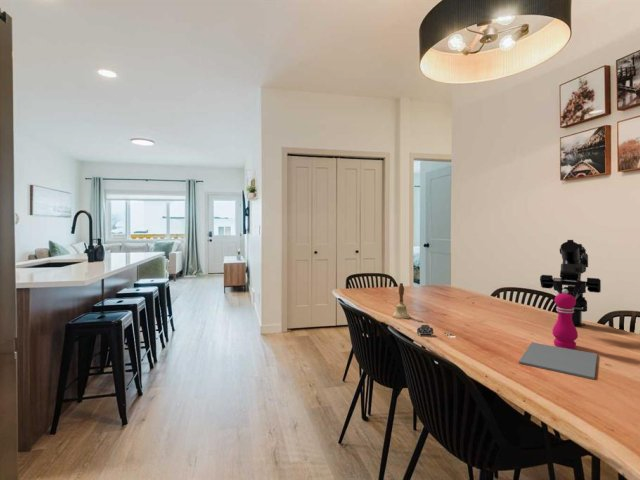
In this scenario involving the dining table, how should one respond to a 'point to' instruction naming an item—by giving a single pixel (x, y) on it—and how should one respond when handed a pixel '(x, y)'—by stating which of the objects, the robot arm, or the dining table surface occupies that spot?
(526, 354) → the mat
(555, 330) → the pepper mill
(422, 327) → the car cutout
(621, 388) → the dining table surface
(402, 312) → the hand bell
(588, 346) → the dining table surface
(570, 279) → the robot arm
